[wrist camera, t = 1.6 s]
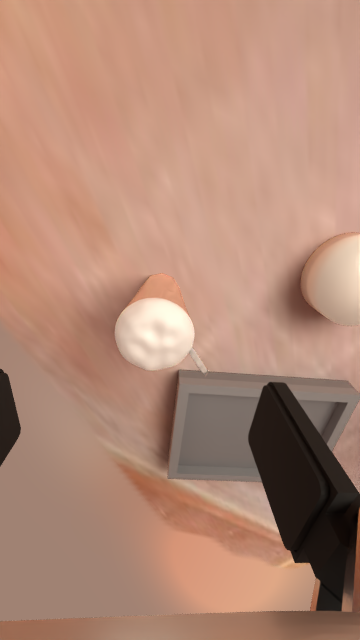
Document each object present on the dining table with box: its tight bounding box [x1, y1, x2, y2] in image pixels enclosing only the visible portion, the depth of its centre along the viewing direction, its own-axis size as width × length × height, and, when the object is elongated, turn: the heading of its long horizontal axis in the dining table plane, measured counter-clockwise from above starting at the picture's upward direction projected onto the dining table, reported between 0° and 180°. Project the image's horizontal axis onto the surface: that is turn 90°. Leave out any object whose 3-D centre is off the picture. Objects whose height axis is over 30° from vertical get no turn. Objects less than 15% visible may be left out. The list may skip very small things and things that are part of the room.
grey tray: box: [168, 370, 360, 482], centre depth 27 cm, size 18×14×2 cm
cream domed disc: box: [301, 232, 360, 326], centre depth 20 cm, size 7×7×3 cm
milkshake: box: [115, 273, 209, 377], centre depth 17 cm, size 4×5×10 cm
